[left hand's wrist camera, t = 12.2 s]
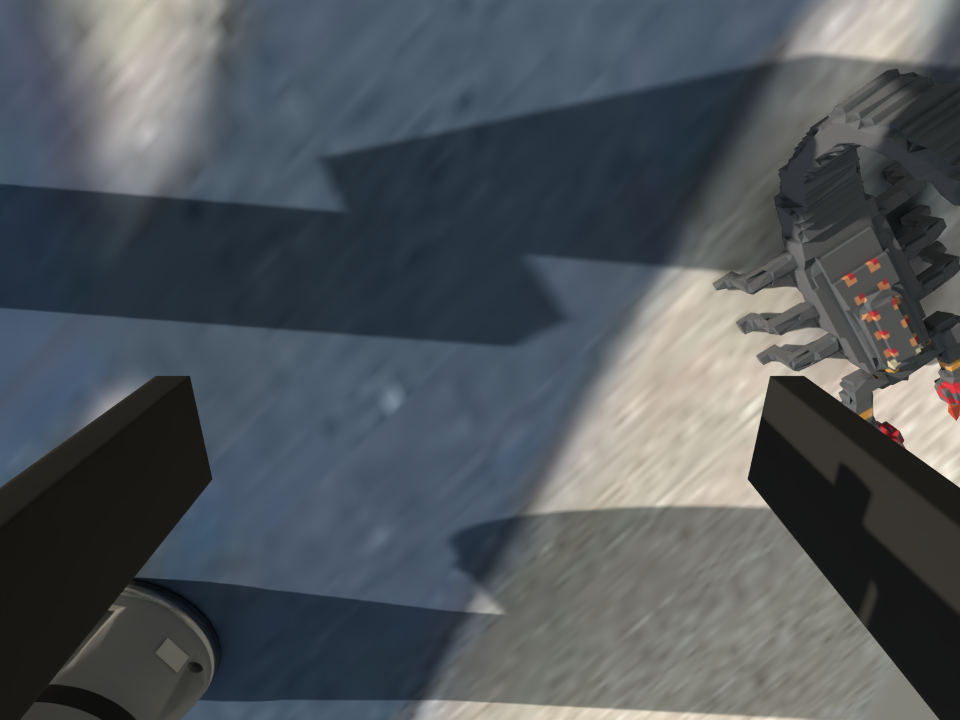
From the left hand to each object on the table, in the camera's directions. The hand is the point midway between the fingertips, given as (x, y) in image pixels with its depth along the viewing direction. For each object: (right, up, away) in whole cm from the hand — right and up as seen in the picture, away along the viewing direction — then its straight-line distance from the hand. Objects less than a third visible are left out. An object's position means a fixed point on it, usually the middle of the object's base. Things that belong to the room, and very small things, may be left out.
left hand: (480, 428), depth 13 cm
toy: (+24, +7, +25) cm, 35 cm away
